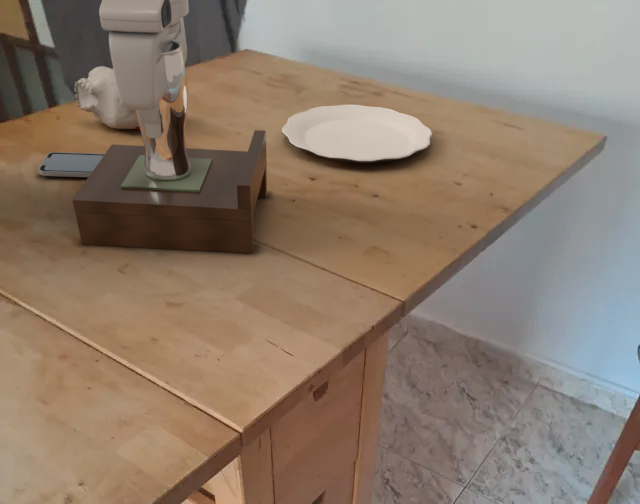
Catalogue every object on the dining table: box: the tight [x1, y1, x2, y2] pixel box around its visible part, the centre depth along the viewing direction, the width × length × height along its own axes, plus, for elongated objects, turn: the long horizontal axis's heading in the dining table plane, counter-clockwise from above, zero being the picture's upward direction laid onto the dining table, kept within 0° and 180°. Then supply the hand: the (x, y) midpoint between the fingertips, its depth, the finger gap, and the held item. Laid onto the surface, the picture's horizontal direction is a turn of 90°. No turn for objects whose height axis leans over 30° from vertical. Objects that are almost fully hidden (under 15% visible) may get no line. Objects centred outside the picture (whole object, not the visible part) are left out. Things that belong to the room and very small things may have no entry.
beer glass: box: [134, 40, 191, 181], centre depth 85 cm, size 7×7×15 cm
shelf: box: [72, 129, 268, 254], centre depth 91 cm, size 22×18×9 cm
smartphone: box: [38, 151, 105, 178], centre depth 105 cm, size 7×1×15 cm
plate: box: [281, 104, 433, 164], centre depth 116 cm, size 25×25×2 cm
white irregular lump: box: [73, 65, 141, 131], centre depth 116 cm, size 9×11×15 cm
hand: (163, 123), depth 86 cm, fingers open, 7 cm apart
